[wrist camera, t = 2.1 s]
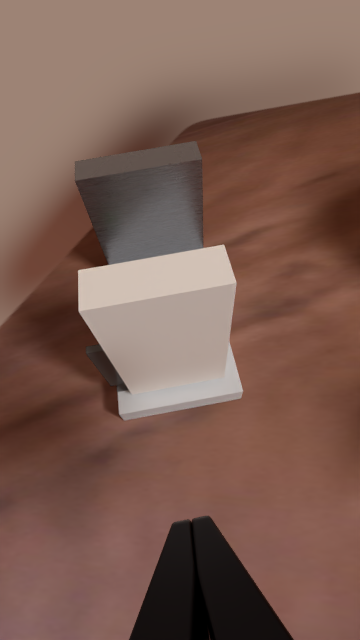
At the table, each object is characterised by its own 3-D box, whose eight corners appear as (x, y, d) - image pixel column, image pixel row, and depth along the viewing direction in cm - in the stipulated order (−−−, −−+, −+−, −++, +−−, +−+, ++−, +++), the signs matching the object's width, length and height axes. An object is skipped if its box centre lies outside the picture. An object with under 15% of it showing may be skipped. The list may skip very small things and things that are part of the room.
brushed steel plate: (203, 248, 27) (202, 159, 20) (108, 265, 27) (74, 180, 20) (198, 231, 28) (196, 141, 21) (107, 247, 28) (75, 161, 21)
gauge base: (240, 398, 22) (243, 391, 20) (124, 420, 22) (118, 414, 20) (198, 244, 29) (198, 230, 28) (111, 259, 29) (107, 247, 28)
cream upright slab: (224, 377, 21) (236, 283, 12) (111, 398, 21) (43, 317, 12) (210, 322, 23) (212, 208, 14) (108, 340, 23) (48, 237, 14)
